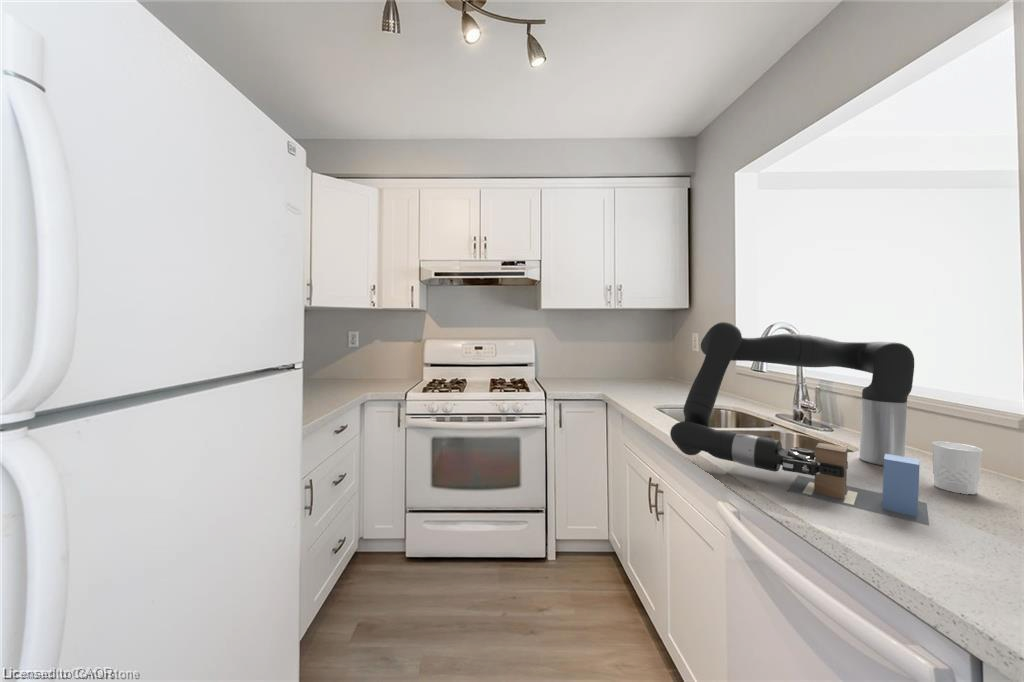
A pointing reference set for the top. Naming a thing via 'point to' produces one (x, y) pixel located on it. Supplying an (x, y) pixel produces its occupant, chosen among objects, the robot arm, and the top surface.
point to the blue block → (900, 484)
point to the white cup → (956, 467)
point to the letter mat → (858, 500)
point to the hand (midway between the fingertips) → (845, 468)
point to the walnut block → (827, 482)
